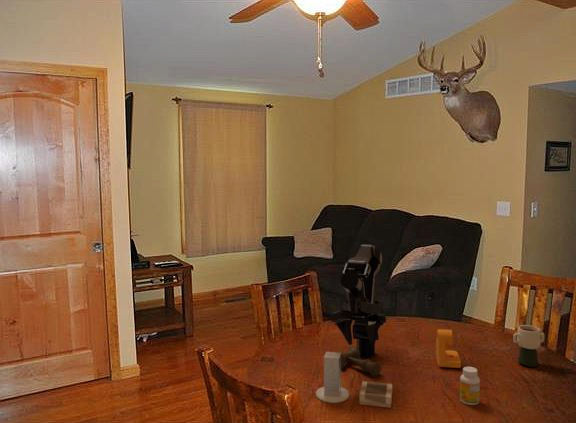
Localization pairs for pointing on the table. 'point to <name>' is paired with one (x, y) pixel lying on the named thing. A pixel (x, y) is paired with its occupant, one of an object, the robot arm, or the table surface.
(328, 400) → the coaster
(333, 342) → the table surface
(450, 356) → the bracket
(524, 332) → the character mug
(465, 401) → the supplement bottle
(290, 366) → the table surface
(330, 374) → the steel peg
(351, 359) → the kendama
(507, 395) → the table surface
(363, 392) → the collar
